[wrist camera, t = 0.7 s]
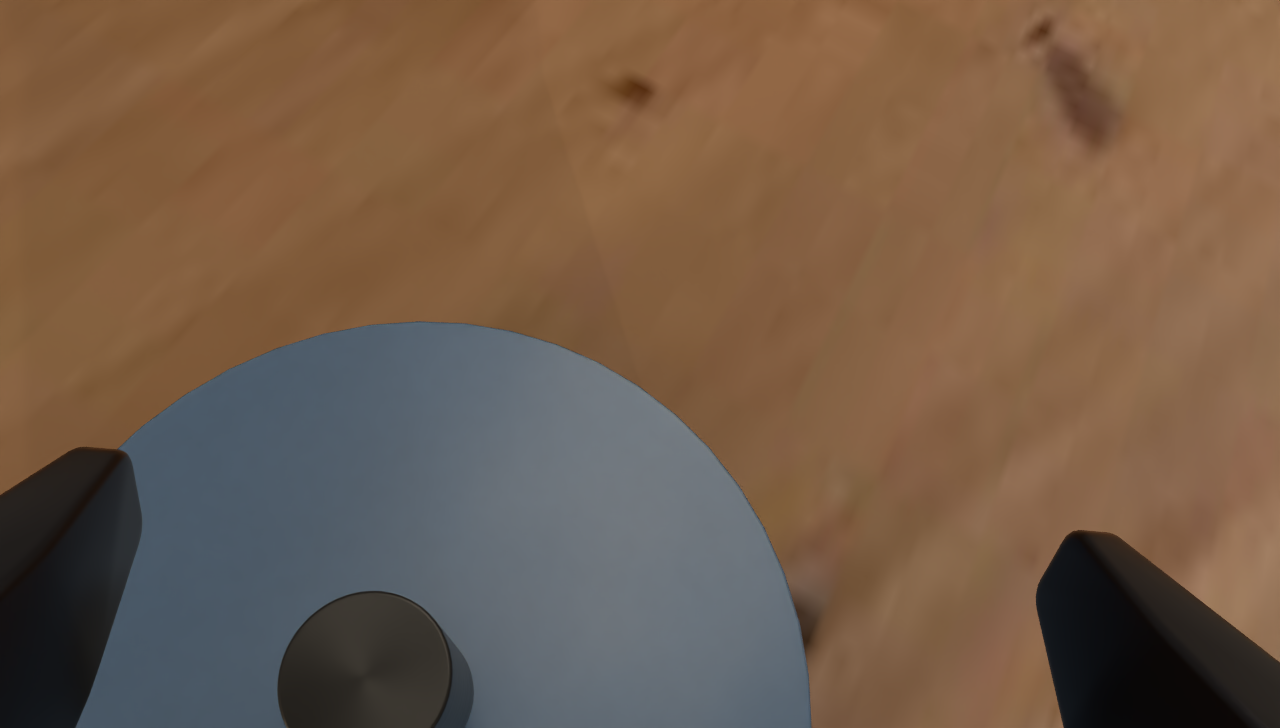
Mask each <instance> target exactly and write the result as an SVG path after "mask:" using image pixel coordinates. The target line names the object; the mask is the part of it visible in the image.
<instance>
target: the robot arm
mask: <svg viewBox="0 0 1280 728" xmlns="http://www.w3.org/2000/svg"><path fill="white" fill-rule="evenodd" d="M141 533H142V512H141V507H140V502H139V496H138V491H137V486H136V480H135V475H134V470H133V465H132V461H131V459H130V457H129V455H128V454H127V453H126V452H124V451H121V450H117V449H105V448H93V447H78V448H75V449H73V450H71V451H69V452H67V453H66V454H64V455H62V456H61V457H59V458H58V459H56V460H55V461H53V462H52V463H50V464H48V465H47V466H45V467H44V468H42V469H41V470H39V471H37V472H36V473H34V474H33V475H31V476H30V477H28V478H26V479H25V480H23V481H22V482H20V483H19V484H17V485H15V486H14V487H12V488H11V489H9V490H8V491H6V492H4V493H3V494H1V495H0V728H76V725H77V723H78V721H79V719H80V716H81V714H82V712H83V709H84V707H85V705H86V702H87V700H88V697H89V695H90V692H91V689H92V687H93V684H94V681H95V678H96V675H97V672H98V669H99V666H100V663H101V660H102V657H103V654H104V651H105V648H106V645H107V641H108V638H109V635H110V632H111V629H112V626H113V623H114V620H115V617H116V614H117V610H118V607H119V604H120V601H121V598H122V595H123V592H124V589H125V586H126V583H127V579H128V576H129V573H130V570H131V567H132V564H133V561H134V558H135V555H136V552H137V548H138V545H139V542H140V538H141ZM1036 607H1037V612H1038V617H1039V621H1040V625H1041V630H1042V634H1043V639H1044V643H1045V647H1046V652H1047V656H1048V661H1049V665H1050V669H1051V674H1052V678H1053V683H1054V687H1055V691H1056V696H1057V700H1058V705H1059V709H1060V713H1061V718H1062V722H1063V726H1064V728H1280V662H1279V661H1277V660H1276V659H1275V658H1273V657H1272V656H1271V655H1270V654H1268V653H1267V652H1266V651H1264V650H1263V649H1262V648H1261V647H1259V646H1258V645H1257V644H1255V643H1254V642H1253V641H1252V640H1250V639H1249V638H1248V637H1246V636H1245V635H1244V634H1243V633H1241V632H1240V631H1239V630H1237V629H1236V628H1235V627H1234V626H1232V625H1231V624H1230V623H1228V622H1227V621H1226V620H1225V619H1223V618H1222V617H1221V616H1219V615H1218V614H1217V613H1216V612H1214V611H1213V610H1212V609H1211V608H1209V607H1208V606H1207V605H1205V604H1204V603H1203V602H1202V601H1200V600H1199V599H1198V598H1196V597H1195V596H1194V595H1193V594H1191V593H1190V592H1189V591H1187V590H1186V589H1185V588H1184V587H1182V586H1181V585H1180V584H1178V583H1177V582H1176V581H1175V580H1173V579H1172V578H1171V577H1169V576H1168V575H1167V574H1166V573H1164V572H1163V571H1162V570H1160V569H1159V568H1158V567H1157V566H1155V565H1154V564H1153V563H1151V562H1150V561H1149V560H1148V559H1146V558H1145V557H1144V556H1142V555H1141V554H1140V553H1139V552H1137V551H1136V550H1135V549H1133V548H1132V547H1131V546H1130V545H1128V544H1127V543H1126V542H1125V541H1123V540H1122V539H1121V538H1119V537H1118V536H1116V535H1114V534H1111V533H1107V532H1096V531H1084V530H1077V531H1073V532H1071V533H1070V534H1069V535H1067V536H1066V537H1065V539H1064V540H1063V542H1062V544H1061V545H1060V547H1059V549H1058V550H1057V552H1056V554H1055V556H1054V557H1053V559H1052V561H1051V563H1050V564H1049V566H1048V568H1047V570H1046V571H1045V573H1044V575H1043V576H1042V578H1041V580H1040V582H1039V584H1038V588H1037V592H1036Z"/></svg>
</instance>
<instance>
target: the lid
mask: <svg viewBox="0 0 1280 728" xmlns="http://www.w3.org/2000/svg"><path fill="white" fill-rule="evenodd" d="M117 450H121V451H124V452H126V453H127V454H128V455H129V457H130V459H131V461H132V465H133V470H134V475H135V480H136V486H137V491H138V496H139V502H140V507H141V512H142V533H141V538H140V542H139V545H138V548H137V552H136V555H135V558H134V561H133V564H132V567H131V570H130V573H129V576H128V579H127V583H126V586H125V589H124V592H123V595H122V598H121V601H120V604H119V607H118V610H117V614H116V617H115V620H114V623H113V626H112V629H111V632H110V635H109V638H108V641H107V645H106V648H105V651H104V654H103V657H102V660H101V663H100V666H99V669H98V672H97V675H96V678H95V681H94V684H93V687H92V689H91V692H90V695H89V697H88V700H87V702H86V705H85V707H84V709H83V712H82V714H81V716H80V719H79V721H78V723H77V725H76V728H811V709H810V690H809V674H808V668H807V663H806V657H805V651H804V646H803V640H802V634H801V628H800V623H799V620H798V616H797V613H796V610H795V606H794V603H793V600H792V597H791V593H790V590H789V587H788V583H787V580H786V577H785V573H784V571H783V569H782V567H781V564H780V562H779V560H778V558H777V555H776V553H775V551H774V549H773V546H772V544H771V542H770V540H769V537H768V535H767V533H766V531H765V528H764V527H763V525H762V523H761V522H760V520H759V518H758V517H757V515H756V513H755V512H754V510H753V508H752V507H751V505H750V503H749V502H748V500H747V498H746V497H745V495H744V493H743V492H742V490H741V488H740V487H739V485H738V484H737V483H736V481H735V480H734V479H733V478H732V476H731V475H730V474H729V472H728V471H727V470H726V469H725V467H724V466H723V465H722V464H721V462H720V461H719V460H718V458H717V457H716V456H715V455H714V453H713V452H712V451H711V450H710V448H709V447H708V446H707V445H706V444H705V443H704V442H703V441H702V440H701V439H700V438H699V437H698V436H697V435H696V434H695V433H694V432H693V431H692V430H691V429H690V428H689V427H688V426H687V425H686V424H685V423H684V422H683V421H682V420H681V419H680V418H679V417H678V416H677V415H675V414H674V413H673V412H672V411H670V410H669V409H668V408H666V407H665V406H664V405H662V404H661V403H660V402H659V401H657V400H656V399H655V398H653V397H652V396H651V395H649V394H648V393H647V392H646V391H644V390H643V389H642V388H640V387H639V386H638V385H636V384H634V383H632V382H631V381H629V380H627V379H626V378H624V377H622V376H621V375H619V374H617V373H615V372H614V371H612V370H610V369H609V368H607V367H605V366H603V365H602V364H600V363H598V362H596V361H594V360H591V359H589V358H587V357H584V356H582V355H580V354H577V353H575V352H573V351H570V350H568V349H566V348H564V347H561V346H559V345H557V344H553V343H550V342H546V341H543V340H540V339H536V338H533V337H529V336H526V335H523V334H519V333H516V332H512V331H507V330H501V329H495V328H489V327H483V326H477V325H471V324H462V323H440V322H405V323H391V324H377V325H368V326H363V327H358V328H352V329H347V330H342V331H337V332H331V333H326V334H322V335H319V336H315V337H312V338H309V339H306V340H302V341H299V342H296V343H293V344H290V345H286V346H283V347H280V348H277V349H274V350H272V351H270V352H267V353H265V354H263V355H261V356H258V357H256V358H254V359H251V360H249V361H247V362H245V363H242V364H240V365H238V366H235V367H233V368H231V369H229V370H227V371H225V372H224V373H222V374H220V375H218V376H217V377H215V378H213V379H212V380H210V381H208V382H206V383H205V384H203V385H201V386H199V387H198V388H196V389H194V390H193V391H191V392H189V393H187V394H186V395H184V396H183V397H181V398H180V399H179V400H177V401H176V402H175V403H173V404H172V405H171V406H169V407H168V408H166V409H165V410H164V411H162V412H161V413H160V414H158V415H157V416H156V417H154V418H153V419H152V420H150V421H149V422H147V423H146V424H145V425H143V426H142V427H141V428H140V429H139V430H138V431H137V432H135V433H134V434H133V435H132V436H131V437H130V438H129V439H128V440H127V441H126V442H125V443H124V444H123V445H121V446H120V447H119V448H118V449H117Z"/></svg>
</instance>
